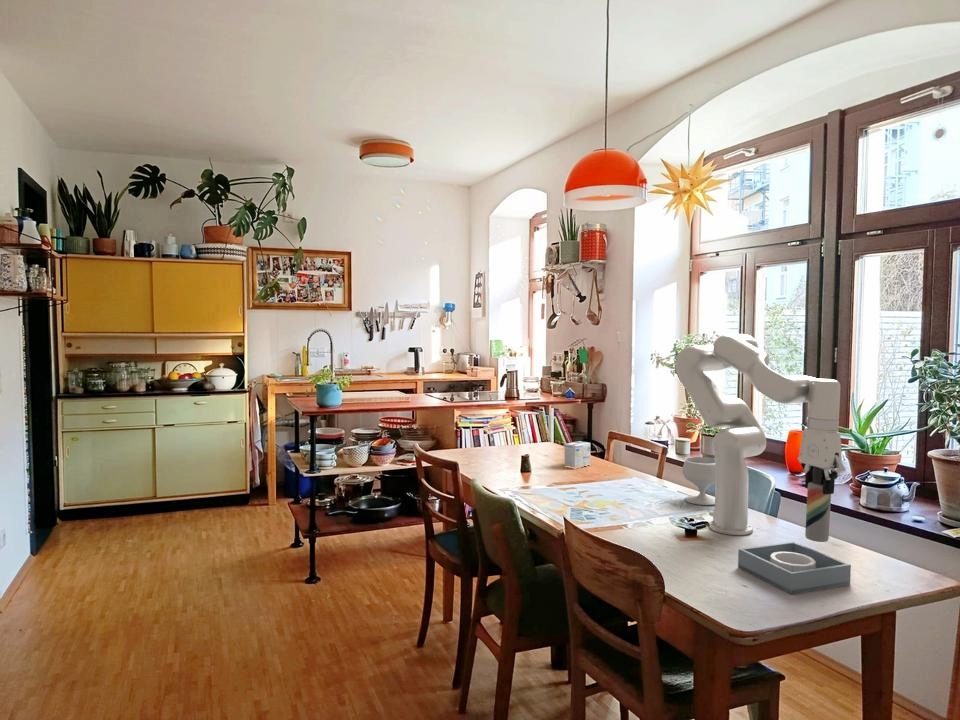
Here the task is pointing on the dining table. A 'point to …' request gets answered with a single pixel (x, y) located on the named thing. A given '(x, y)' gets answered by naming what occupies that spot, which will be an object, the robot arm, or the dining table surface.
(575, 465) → the light bulb box
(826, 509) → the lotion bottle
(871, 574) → the dining table surface
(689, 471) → the chalice
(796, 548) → the socket box
